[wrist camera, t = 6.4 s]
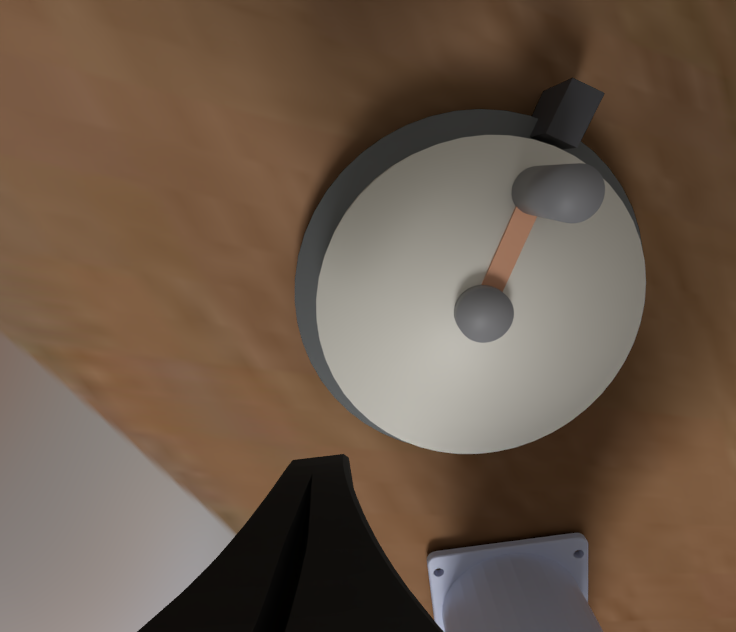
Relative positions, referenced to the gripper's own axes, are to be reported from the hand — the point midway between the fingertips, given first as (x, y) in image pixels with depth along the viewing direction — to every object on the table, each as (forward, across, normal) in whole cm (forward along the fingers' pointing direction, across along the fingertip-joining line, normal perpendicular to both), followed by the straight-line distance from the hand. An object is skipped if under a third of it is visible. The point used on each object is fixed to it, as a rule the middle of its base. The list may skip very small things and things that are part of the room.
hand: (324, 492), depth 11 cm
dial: (+8, -6, -2) cm, 10 cm away
